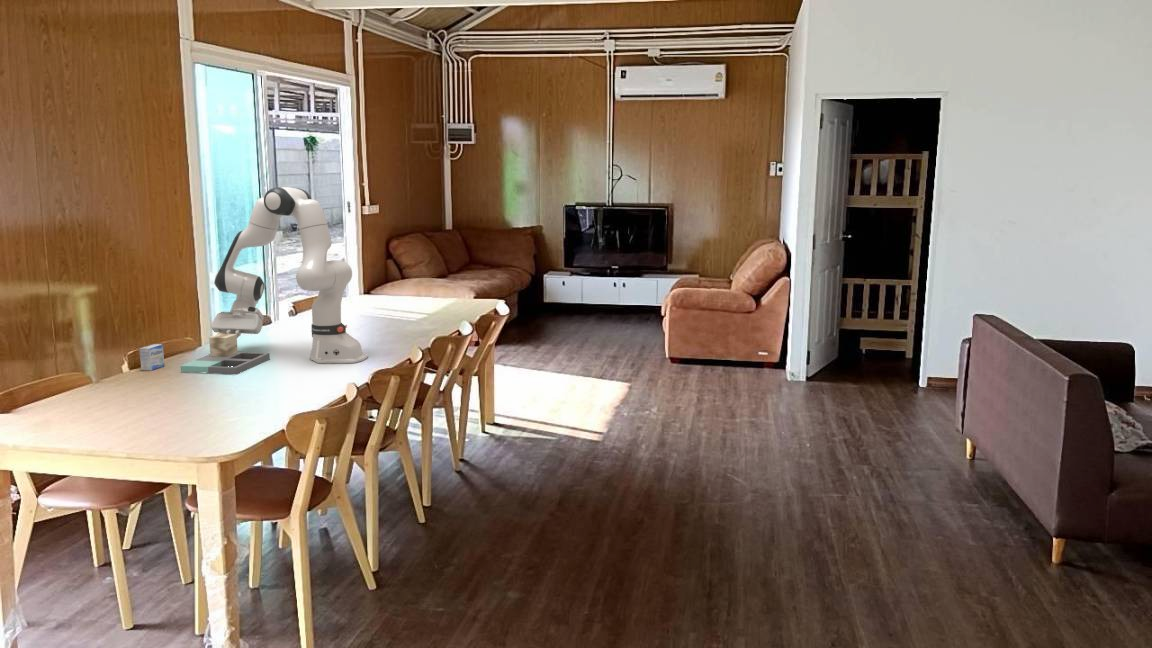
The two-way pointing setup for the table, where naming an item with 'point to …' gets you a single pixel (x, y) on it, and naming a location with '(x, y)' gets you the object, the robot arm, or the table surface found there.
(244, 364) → the tray
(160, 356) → the medicine box
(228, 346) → the birch block
